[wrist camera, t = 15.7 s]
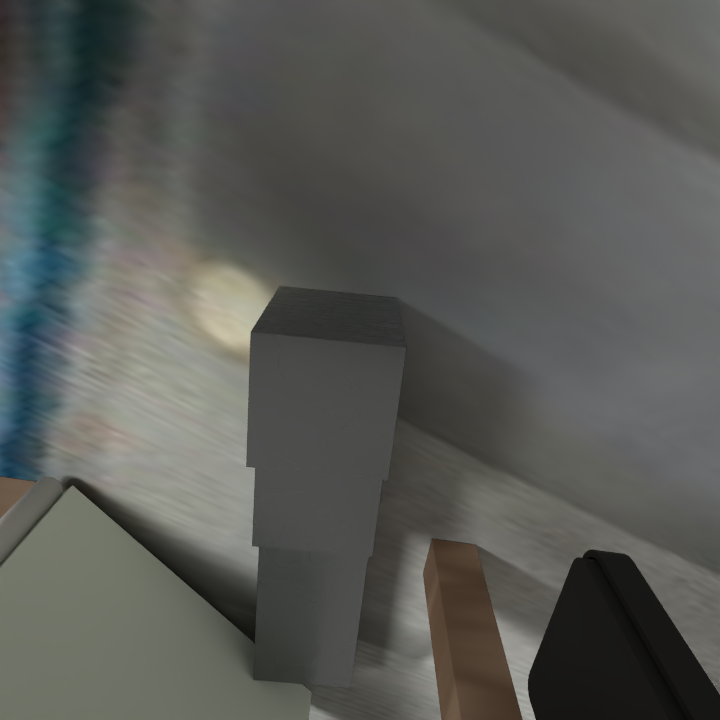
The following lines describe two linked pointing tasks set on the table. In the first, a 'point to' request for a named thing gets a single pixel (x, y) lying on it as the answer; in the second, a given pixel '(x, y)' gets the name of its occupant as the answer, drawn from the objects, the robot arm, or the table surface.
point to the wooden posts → (438, 628)
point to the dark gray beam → (318, 472)
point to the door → (114, 627)
